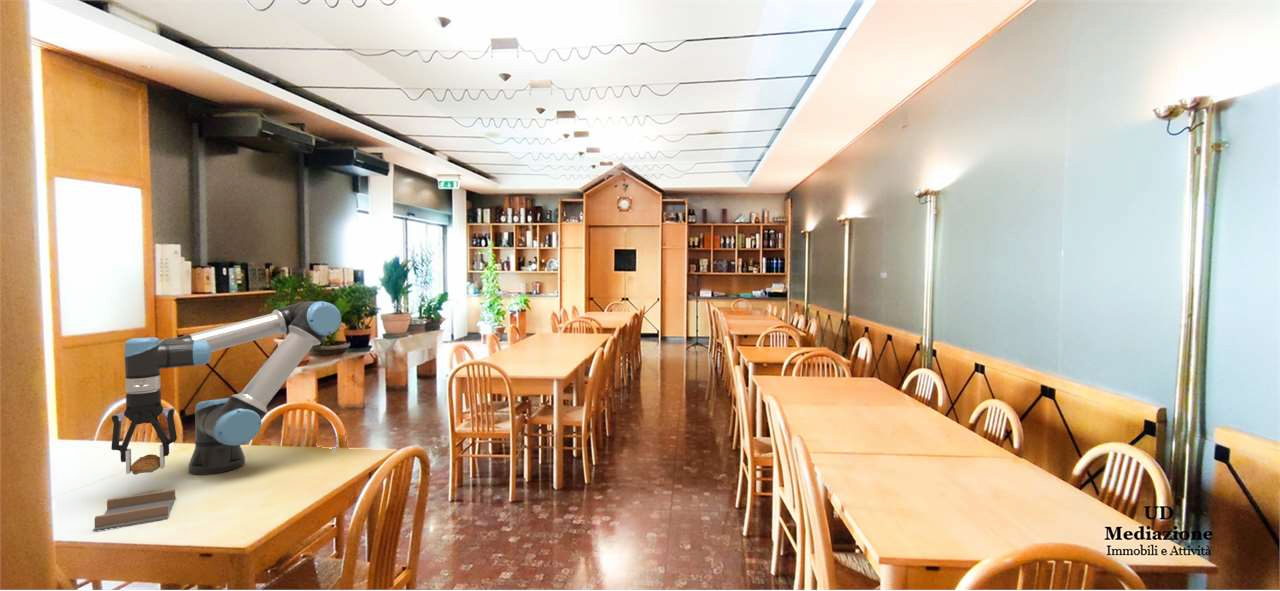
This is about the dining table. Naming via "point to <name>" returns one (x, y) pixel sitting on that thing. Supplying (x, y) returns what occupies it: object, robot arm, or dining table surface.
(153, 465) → the pastry
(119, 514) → the pastry holder
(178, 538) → the dining table surface
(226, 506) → the dining table surface
